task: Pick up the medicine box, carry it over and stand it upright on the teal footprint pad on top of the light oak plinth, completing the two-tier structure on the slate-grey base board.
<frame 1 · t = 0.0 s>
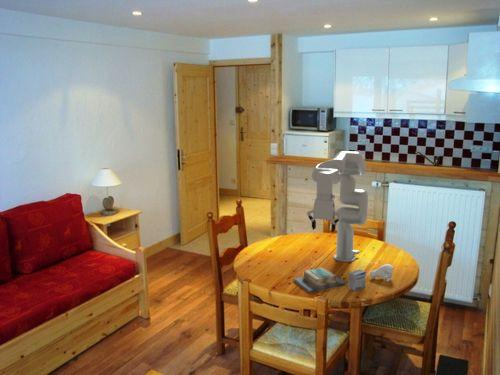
hand: (323, 230, 227), 31 cm above the table, tool pointing down, fingers open, 9 cm apart
plinth: (319, 283, 241), on the table
grey rock: (381, 279, 244), on the table
medicine box: (356, 288, 235), on the table
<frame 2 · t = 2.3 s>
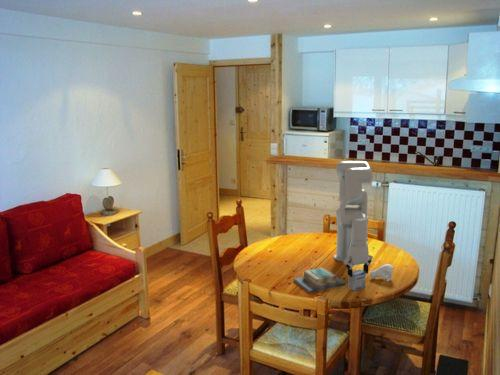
hand: (357, 274, 232), 8 cm above the table, tool pointing down, fingers open, 9 cm apart
medicine box: (356, 288, 235), on the table, touching gripper
everything else where it was.
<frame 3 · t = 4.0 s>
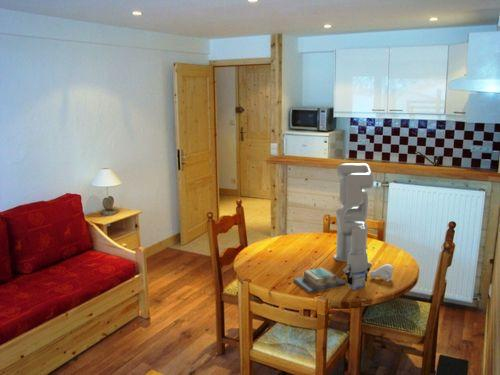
hand: (356, 282, 234), 3 cm above the table, tool pointing down, fingers closed on medicine box, 8 cm apart
medicine box: (356, 287, 235), on the table, touching gripper
everything else where it was.
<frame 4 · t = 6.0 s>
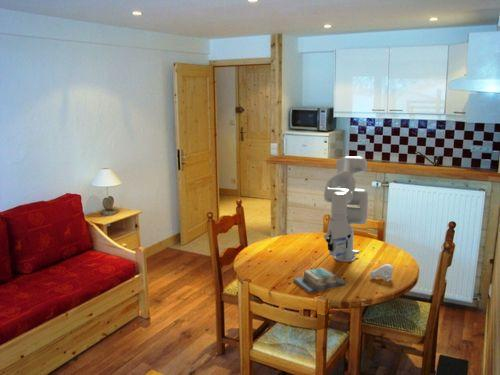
hand: (337, 248, 234), 20 cm above the table, tool pointing down, fingers closed on medicine box, 8 cm apart
medicine box: (337, 254, 234), point 17 cm above the table, touching gripper
everything else where it was.
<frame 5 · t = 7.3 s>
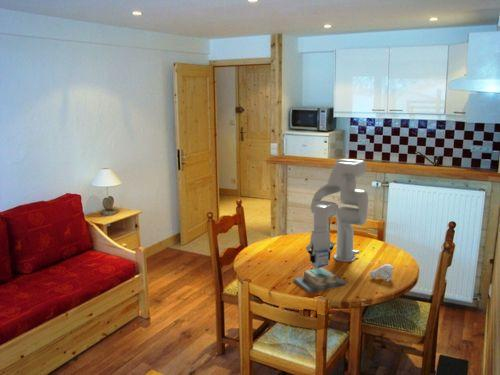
hand: (320, 260, 238), 13 cm above the table, tool pointing down, fingers closed on medicine box, 8 cm apart
medicine box: (319, 266, 239), point 10 cm above the table, touching gripper
everything else where it was.
when the fingers open (9 cm above the table, at t = 8.7 s): medicine box stays where it is, resting on plinth.
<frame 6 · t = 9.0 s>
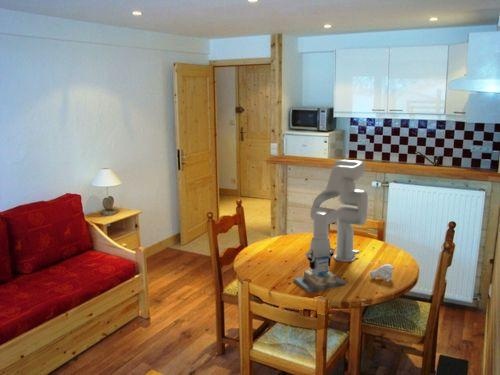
hand: (320, 266, 239), 9 cm above the table, tool pointing down, fingers open, 9 cm apart
medicine box: (319, 272, 240), point 6 cm above the table, touching plinth
everything else where it was.
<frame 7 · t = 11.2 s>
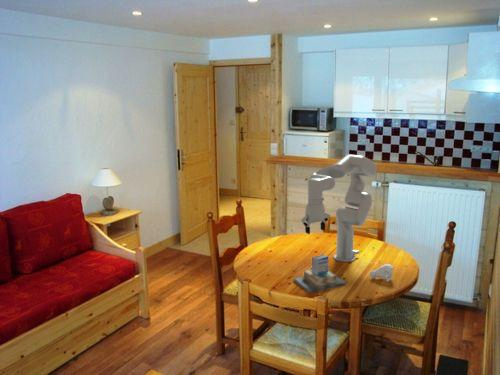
hand: (315, 231, 248), 24 cm above the table, tool pointing down, fingers open, 9 cm apart
nothing on the table moved.
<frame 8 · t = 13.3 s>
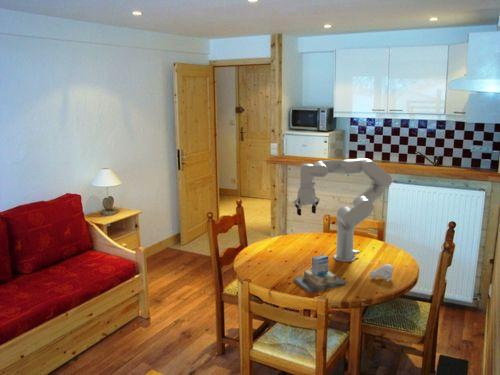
hand: (306, 214, 266), 28 cm above the table, tool pointing down, fingers open, 9 cm apart
nothing on the table moved.
at the end: medicine box 0.2 cm off-centre on the plinth, point 5.6 cm above the plinth's base; medicine box tilted 0°; the gripper is holding nothing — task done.
